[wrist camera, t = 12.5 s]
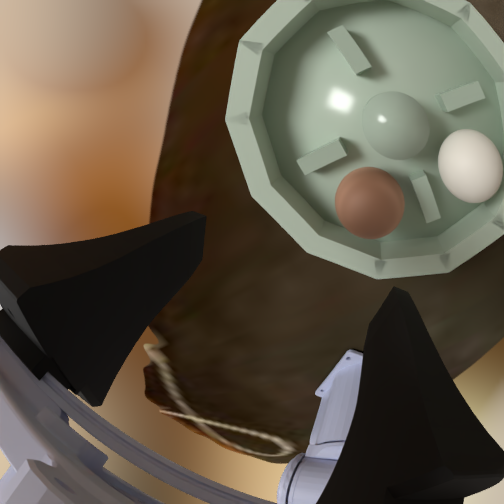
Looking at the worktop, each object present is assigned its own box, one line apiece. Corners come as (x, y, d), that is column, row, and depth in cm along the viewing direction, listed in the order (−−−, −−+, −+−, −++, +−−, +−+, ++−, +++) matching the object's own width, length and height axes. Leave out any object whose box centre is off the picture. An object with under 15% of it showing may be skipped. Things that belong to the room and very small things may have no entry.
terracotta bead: (409, 175, 15) (422, 198, 11) (384, 229, 17) (389, 263, 14) (349, 149, 15) (347, 165, 12) (328, 207, 18) (321, 236, 14)
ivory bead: (422, 170, 14) (434, 197, 11) (443, 111, 12) (464, 123, 9) (473, 196, 13) (492, 228, 10) (496, 141, 11) (524, 163, 8)
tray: (448, 284, 18) (455, 311, 15) (230, 201, 21) (211, 217, 19) (535, 68, 7) (558, 68, 5) (276, -34, 10) (260, -52, 8)
